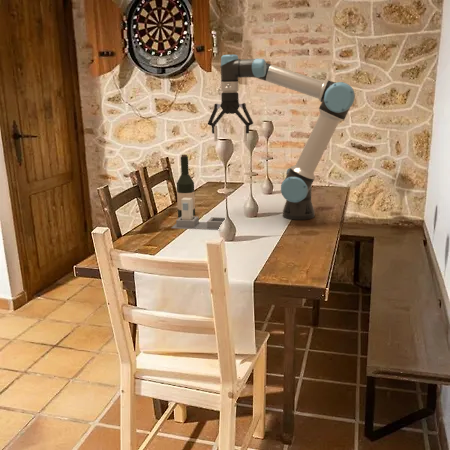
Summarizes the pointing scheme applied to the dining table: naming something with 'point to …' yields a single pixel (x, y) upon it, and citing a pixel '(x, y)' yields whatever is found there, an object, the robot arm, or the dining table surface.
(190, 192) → the wine bottle
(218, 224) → the grey holder tray
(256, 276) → the dining table surface
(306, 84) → the robot arm
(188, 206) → the cream box
